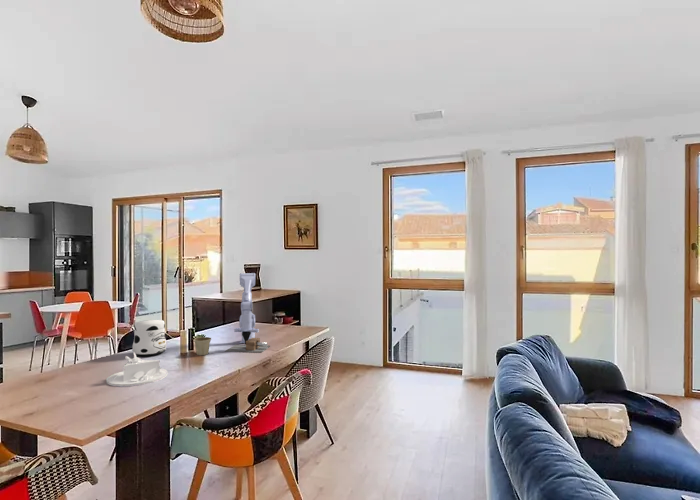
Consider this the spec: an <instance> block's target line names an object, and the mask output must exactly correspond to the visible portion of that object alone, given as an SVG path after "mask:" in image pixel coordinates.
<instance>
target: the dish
mask: <svg viewBox="0 0 700 500" xmlns="http://www.w3.org/2000/svg"><path fill="white" fill-rule="evenodd" d="M132 353H133V358H131V357H129V356H128V355H125V357H124V359H125V360H126V361H127V362H125V364H124V365H123V370H122V371H120V372H115V373H114V374H111V375H109V376H108V377H107V378H106V384H107V385H110V386H113V387H121V388H123V387H136V386H137V387H138V386H143V385H148V384H153V383H155V382H159V381H161V380H163V379H165V378H166V377H167V376H168V374H169V372H168V370H167V369H164V368H162V367H160V365H161V361H160V360H156V359H155V360H154V359H151V360H150V359H141V357H137V355H136V354H135V353H134V352H133V351H132Z"/></svg>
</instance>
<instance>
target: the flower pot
mask: <svg viewBox="0 0 700 500" xmlns="http://www.w3.org/2000/svg"><path fill="white" fill-rule="evenodd" d="M211 340H212V337H207V336H206V337H205V336H202V337H195V338H193V341H194V344H195V351H196V355H197V356H206V355H208V354H209V350H210V344H211Z"/></svg>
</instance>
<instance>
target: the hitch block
mask: <svg viewBox="0 0 700 500" xmlns="http://www.w3.org/2000/svg"><path fill="white" fill-rule="evenodd" d="M256 342H261V338H260V337H255V338H251V339H249V340H247V341H246V345H245V344H234V345H233V346H231V347H229V348H227V349H226V350H224V352H226V353H253V354H255V353H256V354H257V353H258V354H261V353H264V351H265V352H266V350H267V349H269V348H271V345H267V346H256Z"/></svg>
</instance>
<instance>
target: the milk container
mask: <svg viewBox="0 0 700 500" xmlns="http://www.w3.org/2000/svg"><path fill="white" fill-rule="evenodd" d="M133 333H134V337H133V338H134V339H133V343H132V353H133V352H134V353H135V354H136V356H141V357H143V356H145V357H147V356H149V357H150V356H155V355H159V354H162V353H164V352H165V351H166V350H167V345H168V344H167V339H166V334H165V333H166V324H165V321H164V320H163V319H149V320H139V321H136V322H135V323H134V330H133Z"/></svg>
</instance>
